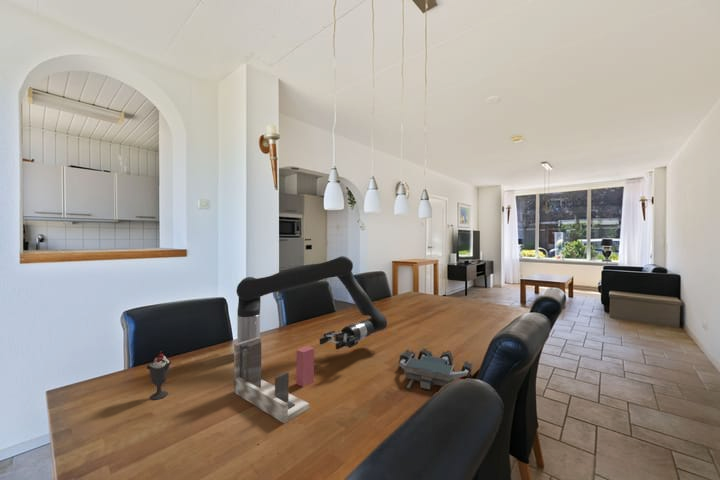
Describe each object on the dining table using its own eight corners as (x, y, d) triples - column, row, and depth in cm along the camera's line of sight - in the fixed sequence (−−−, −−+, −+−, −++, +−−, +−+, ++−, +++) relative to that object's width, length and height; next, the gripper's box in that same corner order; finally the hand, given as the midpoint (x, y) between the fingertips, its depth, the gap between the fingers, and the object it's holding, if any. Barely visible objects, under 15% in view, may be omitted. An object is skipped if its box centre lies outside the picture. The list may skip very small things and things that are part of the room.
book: (296, 383, 104) (296, 349, 104) (307, 378, 108) (307, 345, 108) (303, 387, 102) (303, 352, 102) (314, 381, 106) (314, 348, 106)
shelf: (233, 392, 98) (234, 342, 98) (258, 381, 105) (258, 335, 105) (284, 423, 82) (284, 364, 82) (308, 408, 90) (309, 354, 89)
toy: (473, 354, 122) (472, 376, 94) (472, 376, 121) (470, 404, 93) (408, 342, 132) (389, 358, 104) (406, 362, 131) (387, 383, 104)
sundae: (159, 402, 92) (159, 354, 91) (141, 399, 93) (141, 352, 93) (176, 391, 98) (176, 346, 98) (159, 389, 99) (159, 344, 99)
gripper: (341, 321, 131) (314, 330, 118) (367, 327, 123) (342, 338, 110) (341, 338, 131) (315, 349, 118) (367, 345, 123) (342, 358, 110)
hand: (328, 344), depth 114 cm, fingers open, 8 cm apart
